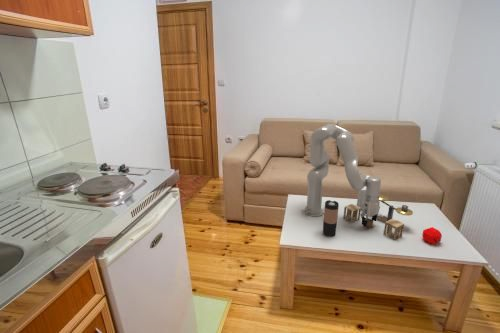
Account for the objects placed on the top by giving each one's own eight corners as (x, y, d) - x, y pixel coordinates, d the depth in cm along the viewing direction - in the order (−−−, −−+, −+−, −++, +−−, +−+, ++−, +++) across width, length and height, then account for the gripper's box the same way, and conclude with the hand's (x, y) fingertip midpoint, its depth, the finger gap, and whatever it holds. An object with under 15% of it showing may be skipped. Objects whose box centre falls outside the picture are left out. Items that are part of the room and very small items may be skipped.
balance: (404, 233, 167) (408, 211, 162) (367, 216, 187) (370, 196, 182) (412, 228, 171) (416, 207, 167) (375, 212, 191) (378, 192, 186)
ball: (432, 247, 154) (435, 234, 152) (419, 239, 161) (421, 227, 158) (442, 243, 157) (445, 231, 155) (428, 236, 164) (431, 224, 161)
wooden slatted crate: (352, 222, 179) (353, 210, 176) (343, 218, 185) (344, 206, 182) (359, 219, 183) (360, 207, 180) (350, 215, 188) (351, 203, 185)
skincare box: (368, 206, 200) (371, 186, 195) (371, 210, 194) (374, 189, 189) (356, 205, 201) (358, 185, 196) (358, 210, 194) (361, 189, 189)
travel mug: (328, 238, 163) (331, 207, 156) (319, 232, 169) (322, 201, 163) (338, 234, 166) (341, 204, 160) (329, 228, 173) (332, 199, 166)
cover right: (401, 236, 164) (404, 223, 161) (394, 240, 160) (397, 227, 158) (390, 230, 170) (392, 218, 167) (383, 234, 166) (385, 221, 163)
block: (368, 229, 171) (369, 222, 170) (362, 226, 175) (363, 219, 173) (372, 227, 173) (373, 220, 172) (366, 224, 177) (367, 217, 175)
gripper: (368, 203, 160) (365, 229, 165) (386, 195, 169) (383, 221, 174) (357, 198, 166) (354, 224, 171) (375, 191, 175) (372, 216, 180)
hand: (369, 222), depth 173 cm, fingers open, 9 cm apart
